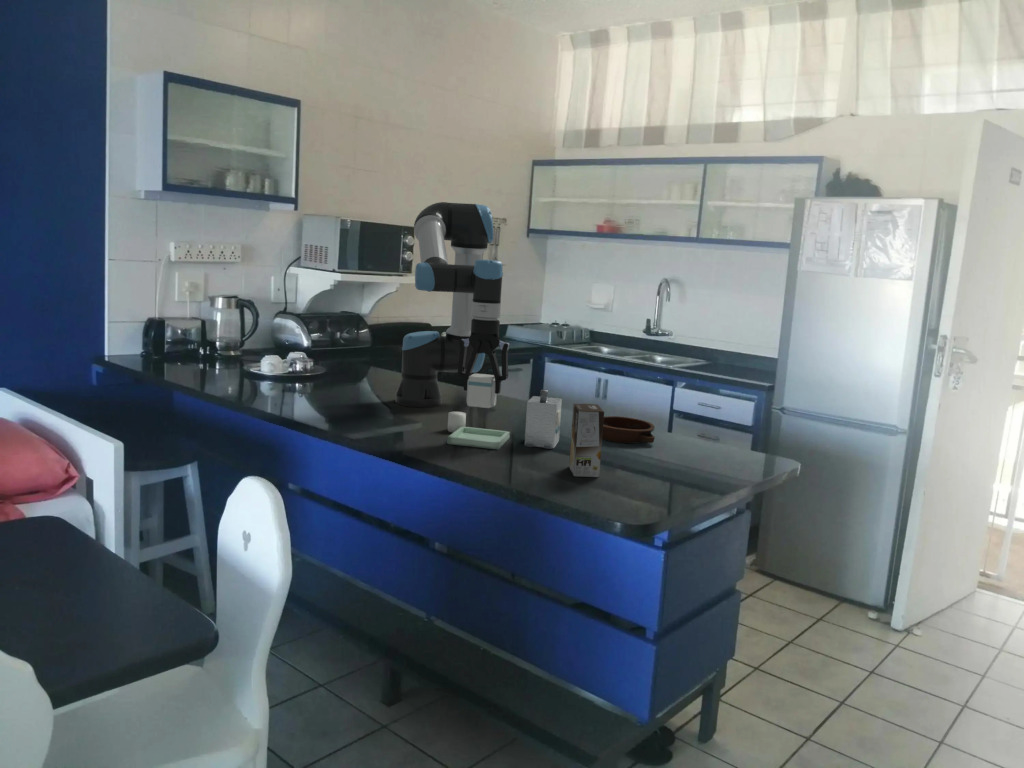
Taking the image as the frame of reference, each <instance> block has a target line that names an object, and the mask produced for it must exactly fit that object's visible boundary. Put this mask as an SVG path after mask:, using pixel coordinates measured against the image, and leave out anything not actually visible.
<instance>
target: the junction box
mask: <svg viewBox="0 0 1024 768" xmlns="http://www.w3.org/2000/svg"><path fill="white" fill-rule="evenodd" d="M562 401H563V399H562V398H558V397H549V390H546V389H541V390H540V395H539V396H538V395H537V396H536V395H533V396H532V397H530V398H529V399H528V401H527V404H526V416H525V418H526V419H525V431H524V432H525V433H524V446H525V447H528V448H534V447H538V448H543V449H547V450H552V449H555V447H556V446H557V444H558V443H559V441H560V431H561V418H562V417H561V416H562V403H563V402H562Z"/></svg>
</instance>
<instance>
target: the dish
mask: <svg viewBox="0 0 1024 768" xmlns="http://www.w3.org/2000/svg"><path fill="white" fill-rule="evenodd" d="M654 430H655V425H654V424H653V423H652V422H649V421H647V420H643V419H639V418H633V417H629V416H628V417H627V416H626V417H625V416H618V415H617V416H615V415H614V416H613V415H612V416H609V415H608V416H606V415H605V416H604V421H603V434H602V440H604V441H608V442H612V443H619V444H638V443H639V444H640V443H648V444H653V443H654V442H655V438H656V437H655V435H653V434H652V432H653V431H654Z"/></svg>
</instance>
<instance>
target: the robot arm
mask: <svg viewBox="0 0 1024 768" xmlns="http://www.w3.org/2000/svg"><path fill="white" fill-rule="evenodd" d="M413 231H414V236H415V238H416V239H417V241H418V247H419V255H420V256H419V257H420V262H419V263H417V264H415V265H416V266H415V269H414V286H415V289H416V290H418V291H422V292H423V291H424V292H430V293H431V292H440V293H441V292H442V293H443V292H444V293H452V301H451V302H452V303H451V305H452V306H451V321H450V322H451V323H450V324H451V325H450V327H448V328H447V329H446V332H445V335H440V333H439V331H437V330H435V331H434V330H432V331H431V330H425V331H415V332H410V333H407V334H405V335H404V337H403V339H402V347H401V350H402V353H401V354H402V355H401V356H402V357H401V358H402V359H401V379H400V381H399V384H398V387H397V390H396V392H395V397H394V398H395V399H394V401H395V404H397V405H399V406H400V405H401V406H404V407H413V408H432V407H437V406H440V405H442V403H443V402H442V401H443V400H442V397H443V396H442V393H441V389H440V386H439V383H438V373H439V372H440V373H456V374H457V376H458V377H461V378H463V391H466V404H467V405H468V388H469V385H468V384H469V376H471V375H472V373H478V372H480V370H481V369H482V368H483V365H484V361H485V357H486V355H487V356H488V358H489V361H490V366H491V369H492V373H493V374H492V375H494V377H495V381H493V382H492V397H491V406H492V407H495V406H496V405H497V394H500V393H501V391H502V390H501V387H502V381H506V380H508V378H509V349H510V346H511V344H510V342H505V341H503V340H501V337H500V324H501V323H500V322H501V321H500V320H499V318H501V305H502V304H501V303H502V302H501V301H502V287H503V286H502V284H503V276H504V272H503V263H502V261H500V260H495V259H494V260H493V259H483V253H484V252H485V251H487V250H488V244H489V245H490V244H492V243H493V241H494V221H493V214H492V210H491V209H490V207H489V206H488V205H484V204H477V203H465V202H464V203H462V202H461V203H459V202H447V201H440V202H435V203H432V204H430V205H428V206H426V207H425V208H424V209H423V210H421V211H420V212H419V214H418V215H417V217H416V218H415V220H414V223H413ZM445 241H450V247H451V248H452V249H453V251H454V264H451V263H450V264H449V261H448V255H447V254H448V253H447V250H446V244H445V243H446V242H445ZM498 346H499V347H500V349H499V350H501V369H500V367H499V363H498V359H497V353H496V349H497V348H498Z"/></svg>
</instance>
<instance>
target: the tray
mask: <svg viewBox="0 0 1024 768" xmlns="http://www.w3.org/2000/svg"><path fill="white" fill-rule="evenodd" d="M510 436H511V431H510V430H509V431H508V430H498V429H491V428H489V429H488V428H481V427H471V426H465V427H460V428H459V429H458V430H456V431H455V432H451V434H450V435H448V436H447V438H446V439H447V442H446V444H447V445H454V446H455V445H456V446H463V447H471V448H481V449H491V450H500V449H501V448H502V447H503V446H504V445H505V444H506V443H507V441H508V440H509V439H510V438H511V437H510Z"/></svg>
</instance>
